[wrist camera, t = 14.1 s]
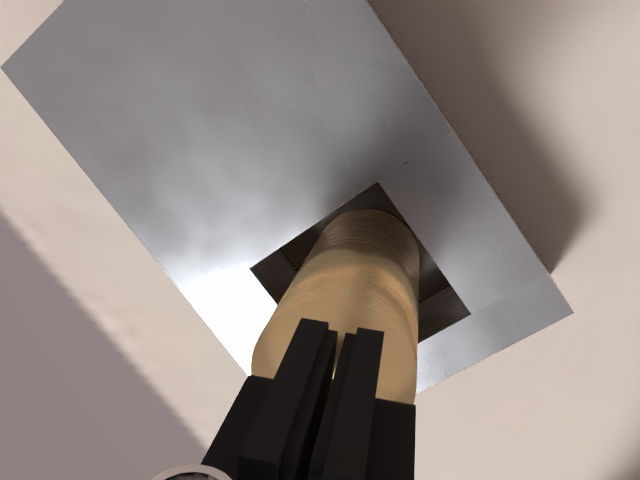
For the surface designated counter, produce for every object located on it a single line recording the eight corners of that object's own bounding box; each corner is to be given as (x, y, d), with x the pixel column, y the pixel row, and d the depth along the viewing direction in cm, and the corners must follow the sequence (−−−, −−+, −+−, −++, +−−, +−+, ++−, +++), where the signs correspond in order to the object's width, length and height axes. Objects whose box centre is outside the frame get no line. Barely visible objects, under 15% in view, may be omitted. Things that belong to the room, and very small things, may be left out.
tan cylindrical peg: (320, 201, 19) (254, 289, 12) (427, 215, 19) (428, 316, 11) (311, 297, 21) (247, 432, 13) (411, 313, 20) (403, 463, 13)
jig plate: (60, 66, 19) (0, 67, 17) (272, -142, 16) (242, -184, 13) (322, 400, 22) (308, 449, 19) (550, 275, 19) (574, 313, 16)
